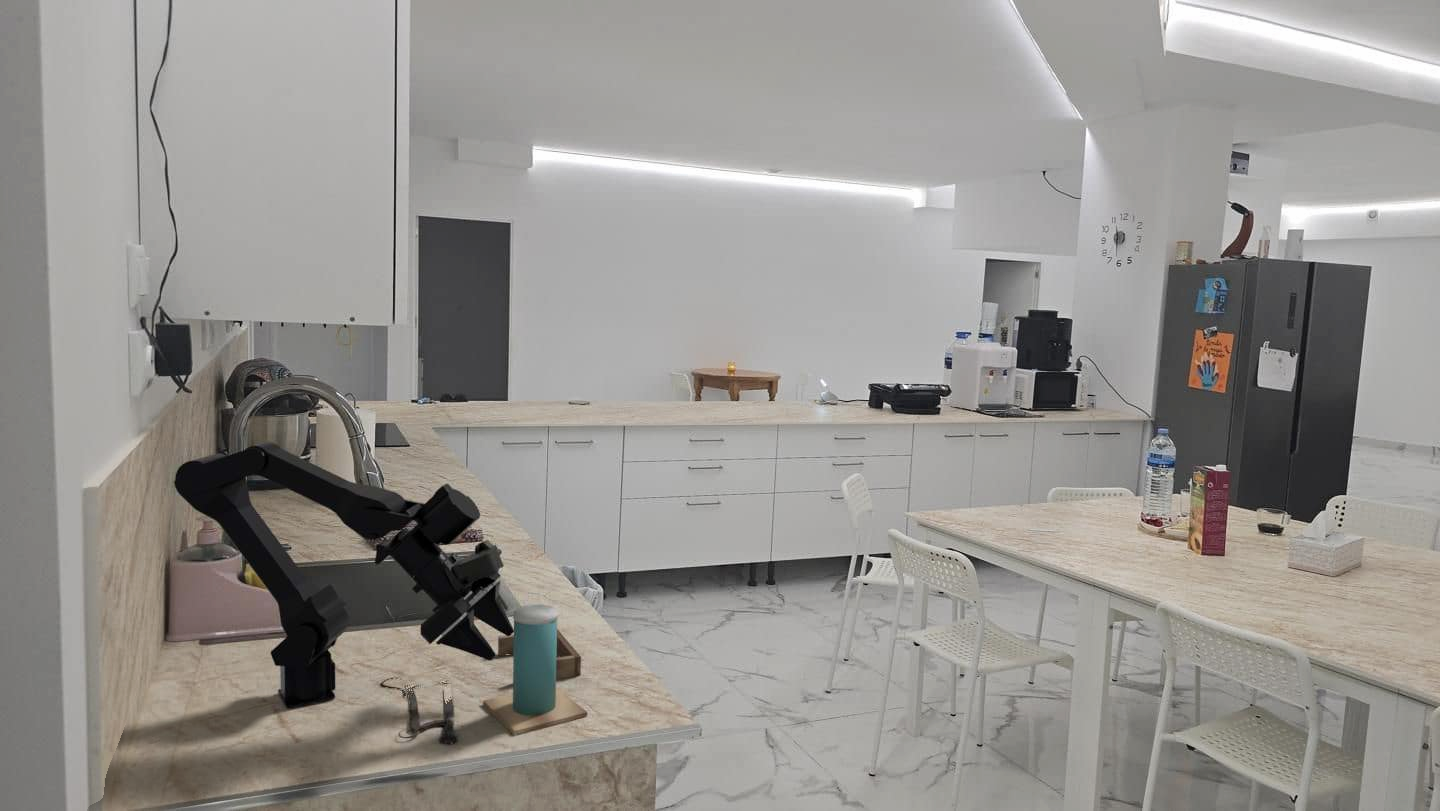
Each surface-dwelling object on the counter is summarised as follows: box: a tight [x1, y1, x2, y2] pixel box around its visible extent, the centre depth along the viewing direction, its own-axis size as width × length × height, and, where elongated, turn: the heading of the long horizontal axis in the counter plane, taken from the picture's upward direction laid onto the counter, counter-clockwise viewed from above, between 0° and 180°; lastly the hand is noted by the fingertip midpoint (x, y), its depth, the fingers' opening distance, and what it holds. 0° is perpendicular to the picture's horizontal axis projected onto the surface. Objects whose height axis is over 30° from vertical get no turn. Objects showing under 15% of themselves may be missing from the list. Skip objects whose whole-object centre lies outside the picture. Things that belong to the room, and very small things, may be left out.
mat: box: [482, 686, 588, 736], centre depth 131 cm, size 11×11×1 cm
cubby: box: [497, 628, 582, 680], centre depth 147 cm, size 10×13×3 cm
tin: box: [512, 603, 559, 716], centre depth 130 cm, size 6×6×14 cm
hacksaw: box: [380, 677, 458, 745], centre depth 129 cm, size 24×10×2 cm, turn 18°
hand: (502, 645), depth 130 cm, fingers open, 9 cm apart
